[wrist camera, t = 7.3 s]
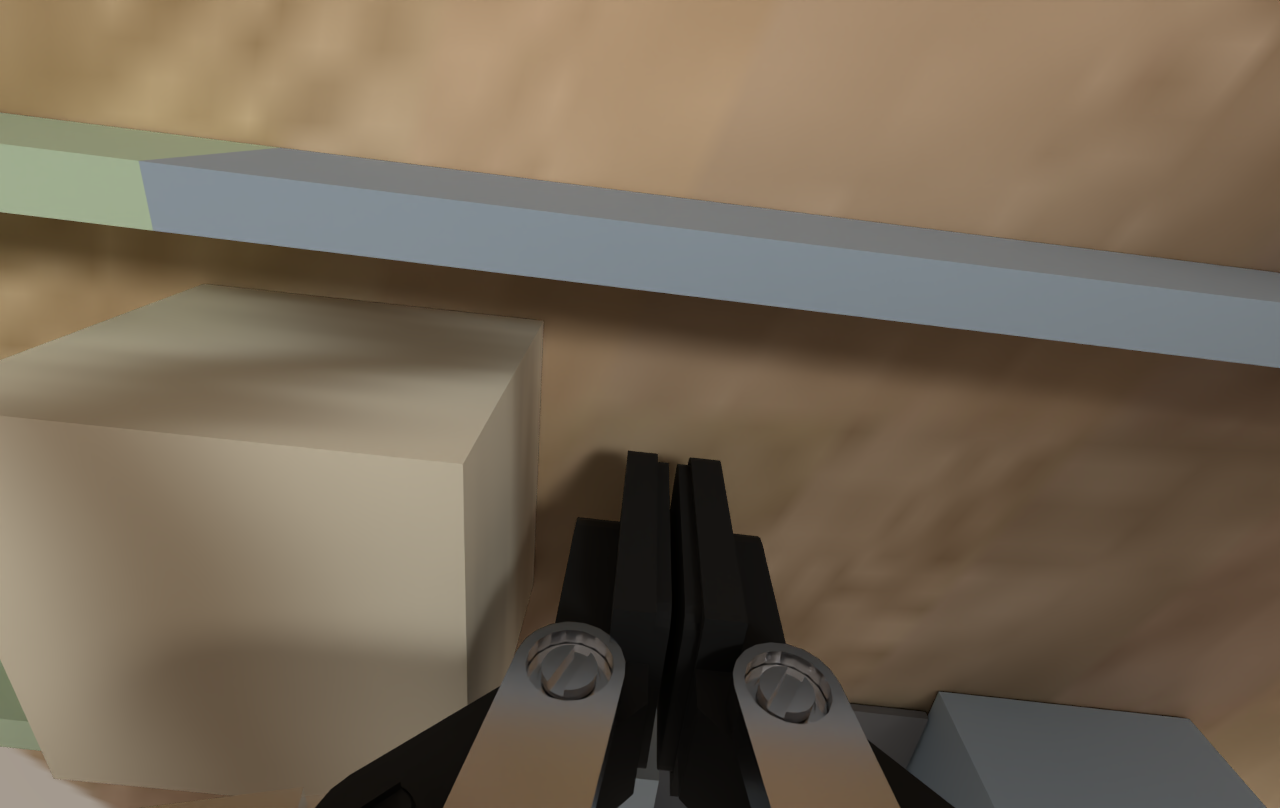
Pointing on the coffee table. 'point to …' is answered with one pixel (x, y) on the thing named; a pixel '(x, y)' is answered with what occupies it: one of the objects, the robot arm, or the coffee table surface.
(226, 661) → the birch block
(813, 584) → the coffee table surface
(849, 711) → the robot arm
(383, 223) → the tray
